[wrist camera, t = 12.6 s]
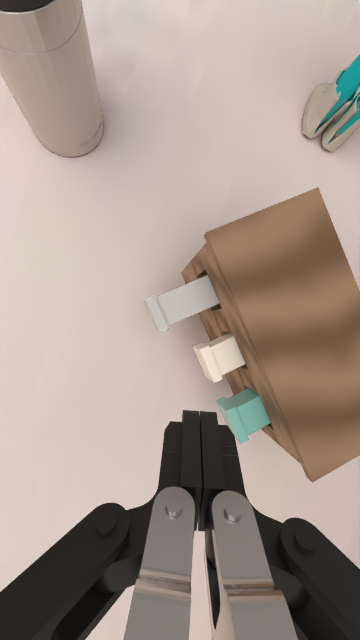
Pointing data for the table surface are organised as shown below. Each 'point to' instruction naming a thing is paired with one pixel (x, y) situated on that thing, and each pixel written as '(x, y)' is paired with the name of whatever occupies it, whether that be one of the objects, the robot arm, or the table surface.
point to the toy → (334, 108)
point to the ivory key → (219, 356)
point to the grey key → (181, 303)
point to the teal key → (244, 413)
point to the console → (290, 325)
